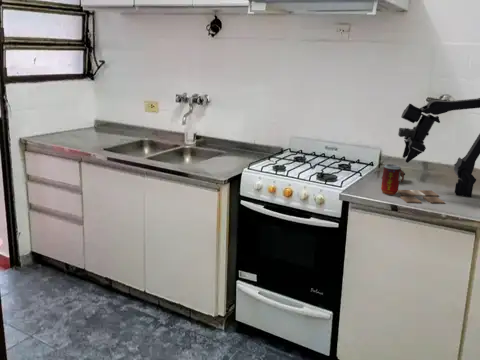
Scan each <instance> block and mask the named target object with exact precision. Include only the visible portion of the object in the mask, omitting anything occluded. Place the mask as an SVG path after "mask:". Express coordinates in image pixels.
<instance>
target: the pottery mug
mask: <svg viewBox="0 0 480 360" xmlns="http://www.w3.org/2000/svg"><path fill="white" fill-rule="evenodd" d="M405 176H406V173H405V172H404V171H403V170H402V169H401V173H400V178H401V179H400V182H401V183H403V181H404V180H405ZM382 177H383V175H382V176H381V178H382Z"/></svg>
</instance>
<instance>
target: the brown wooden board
mask: <svg viewBox="0 0 480 360" xmlns="http://www.w3.org/2000/svg"><path fill="white" fill-rule="evenodd" d="M397 193H398V194H399V195H401V196H414V197H438V198H439V197H440V195H439V194H438V193H436V192H434V191H433V190H431V189H428V190H427V189H423V190H422V189H398V191H397Z"/></svg>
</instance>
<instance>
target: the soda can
mask: <svg viewBox="0 0 480 360" xmlns="http://www.w3.org/2000/svg"><path fill="white" fill-rule="evenodd" d="M401 170H402V167H400V166H399V165H398V164H391V163H390V164H385V165H384V166H383V171H382V176H383V177H382V176H381V186H380V188H381V189H380V190H381V192H382V194H384V195H386V196H396V195H397V193H398V192H397V191H398V190H399V187H400V181H401V176H400V173H401Z"/></svg>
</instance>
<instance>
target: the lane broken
mask: <svg viewBox="0 0 480 360" xmlns="http://www.w3.org/2000/svg"><path fill="white" fill-rule="evenodd" d="M399 197H400V199H401V200H402V201H404V202H405V203H406V204H421V203H422V201H421V200H420V199H418V198H417V196H402V195H401V196H399ZM422 198H423V199H424V200H425V201H427V202H428V203H429V204H440V203H441V204H446V202H445V201H444V200H442V199H441V198H439V197H434V196H422ZM441 204H440V205H441Z"/></svg>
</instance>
